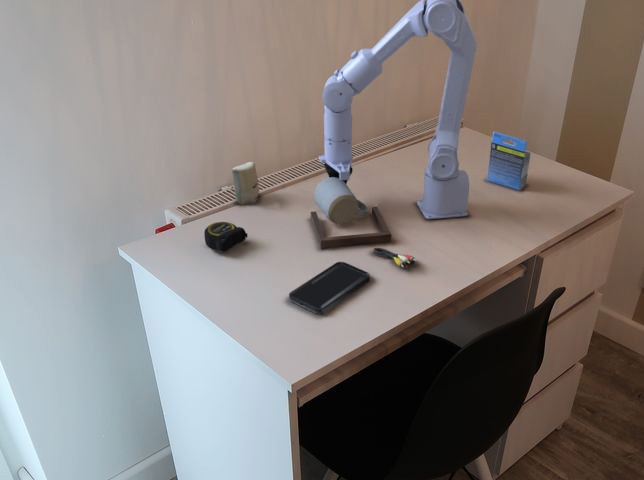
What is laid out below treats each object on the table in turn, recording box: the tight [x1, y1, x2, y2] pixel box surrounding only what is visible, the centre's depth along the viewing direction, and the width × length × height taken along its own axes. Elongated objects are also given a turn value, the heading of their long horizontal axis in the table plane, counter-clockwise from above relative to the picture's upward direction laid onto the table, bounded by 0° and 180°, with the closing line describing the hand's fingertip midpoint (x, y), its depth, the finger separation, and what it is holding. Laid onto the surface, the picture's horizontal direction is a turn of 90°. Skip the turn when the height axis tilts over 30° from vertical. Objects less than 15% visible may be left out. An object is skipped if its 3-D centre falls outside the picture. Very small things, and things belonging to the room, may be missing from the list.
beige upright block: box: [231, 161, 260, 206], centre depth 155 cm, size 6×5×8 cm
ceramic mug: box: [313, 176, 369, 225], centre depth 151 cm, size 11×8×8 cm
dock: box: [309, 205, 392, 250], centre depth 148 cm, size 14×12×2 cm
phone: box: [288, 261, 371, 315], centre depth 131 cm, size 8×1×15 cm
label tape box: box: [486, 130, 532, 191], centre depth 167 cm, size 9×4×12 cm, turn 58°
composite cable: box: [372, 247, 417, 270], centre depth 140 cm, size 10×5×2 cm, turn 42°
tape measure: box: [203, 221, 248, 253], centre depth 141 cm, size 7×7×4 cm
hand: (338, 196), depth 157 cm, fingers closed
